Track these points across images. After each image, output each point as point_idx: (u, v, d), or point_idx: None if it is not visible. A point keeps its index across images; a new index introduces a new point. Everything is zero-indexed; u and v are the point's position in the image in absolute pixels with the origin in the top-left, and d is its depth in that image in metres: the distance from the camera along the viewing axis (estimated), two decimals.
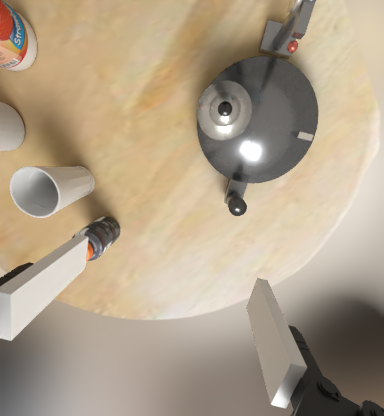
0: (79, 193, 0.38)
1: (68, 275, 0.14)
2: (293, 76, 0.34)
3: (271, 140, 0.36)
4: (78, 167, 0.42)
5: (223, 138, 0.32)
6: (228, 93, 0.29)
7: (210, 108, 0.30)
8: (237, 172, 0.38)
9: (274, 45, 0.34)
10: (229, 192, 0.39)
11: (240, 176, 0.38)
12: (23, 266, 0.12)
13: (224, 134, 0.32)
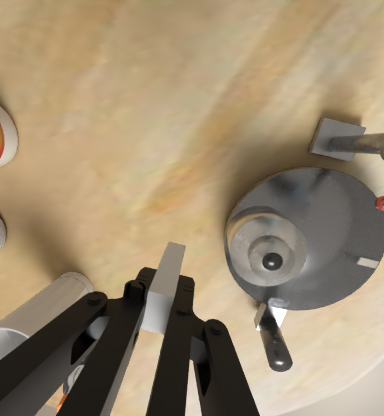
0: None
1: None
2: (357, 193, 0.25)
3: (321, 264, 0.28)
4: (72, 278, 0.33)
5: (265, 285, 0.24)
6: (278, 243, 0.21)
7: (251, 259, 0.21)
8: (275, 297, 0.30)
9: (330, 149, 0.26)
10: (263, 318, 0.31)
11: (278, 302, 0.30)
12: (143, 270, 0.15)
13: (267, 280, 0.24)
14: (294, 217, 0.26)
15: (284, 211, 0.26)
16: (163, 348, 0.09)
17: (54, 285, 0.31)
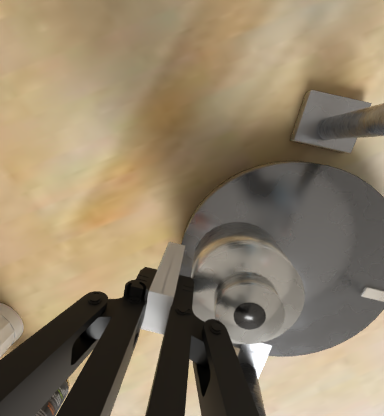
0: None
1: None
2: (360, 198, 0.17)
3: (312, 297, 0.20)
4: None
5: (242, 342, 0.16)
6: (258, 289, 0.13)
7: (217, 312, 0.14)
8: None
9: (320, 135, 0.18)
10: None
11: (255, 346, 0.22)
12: (143, 270, 0.15)
13: None
14: (271, 233, 0.19)
15: (257, 225, 0.19)
16: (163, 348, 0.09)
17: None
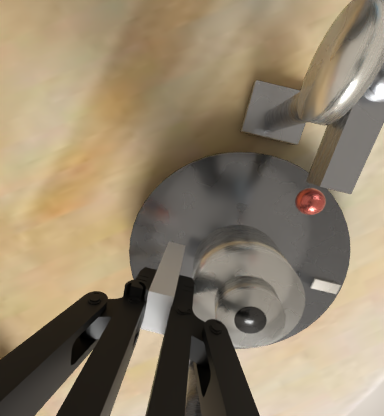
0: None
1: None
2: (304, 188, 0.17)
3: None
4: None
5: (242, 346, 0.16)
6: (259, 293, 0.13)
7: (218, 315, 0.14)
8: None
9: (267, 126, 0.18)
10: None
11: None
12: (143, 270, 0.15)
13: None
14: (219, 223, 0.19)
15: (204, 215, 0.19)
16: (163, 348, 0.09)
17: None
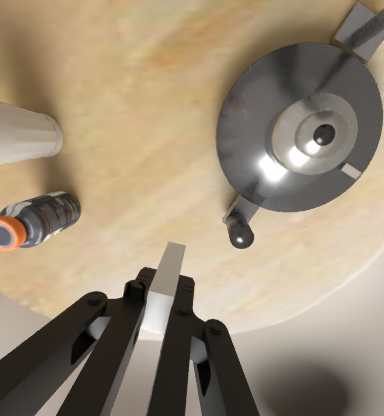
0: (31, 151, 0.27)
1: None
2: (365, 88, 0.25)
3: None
4: (44, 116, 0.30)
5: (299, 171, 0.23)
6: (338, 115, 0.20)
7: (304, 126, 0.20)
8: (251, 189, 0.29)
9: (352, 40, 0.25)
10: (233, 211, 0.30)
11: (253, 196, 0.29)
12: (143, 270, 0.15)
13: (303, 166, 0.23)
14: (298, 99, 0.26)
15: (290, 89, 0.25)
16: (163, 348, 0.09)
17: (21, 108, 0.27)
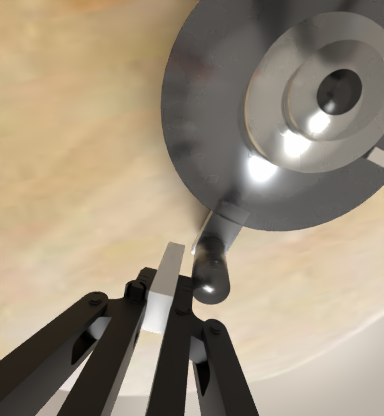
0: None
1: None
2: None
3: None
4: None
5: (297, 168, 0.13)
6: (365, 48, 0.10)
7: (298, 80, 0.10)
8: (227, 201, 0.19)
9: None
10: (204, 236, 0.20)
11: (231, 210, 0.19)
12: (143, 270, 0.15)
13: (302, 159, 0.13)
14: None
15: (270, 32, 0.15)
16: (162, 348, 0.09)
17: None
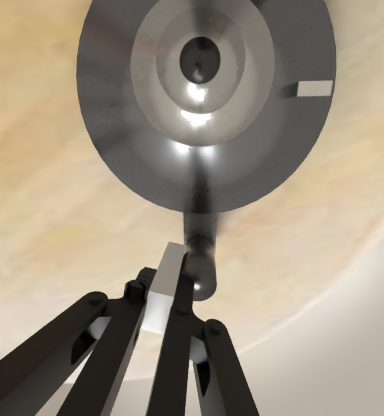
0: None
1: None
2: None
3: None
4: None
5: (214, 142, 0.13)
6: (199, 11, 0.10)
7: (159, 69, 0.11)
8: (191, 197, 0.19)
9: None
10: (187, 237, 0.20)
11: (199, 203, 0.19)
12: (143, 270, 0.15)
13: (214, 131, 0.13)
14: None
15: None
16: (163, 348, 0.09)
17: None
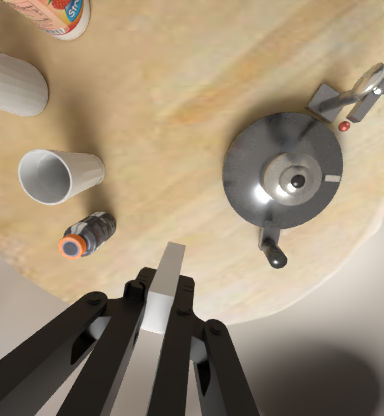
0: (88, 186, 0.37)
1: None
2: (312, 126, 0.34)
3: None
4: (93, 157, 0.40)
5: (294, 204, 0.33)
6: (300, 167, 0.30)
7: (283, 182, 0.31)
8: (269, 221, 0.39)
9: (320, 108, 0.35)
10: (263, 240, 0.40)
11: (272, 224, 0.39)
12: (143, 270, 0.15)
13: (295, 200, 0.33)
14: (270, 153, 0.36)
15: (262, 150, 0.36)
16: (163, 348, 0.09)
17: (79, 153, 0.37)
